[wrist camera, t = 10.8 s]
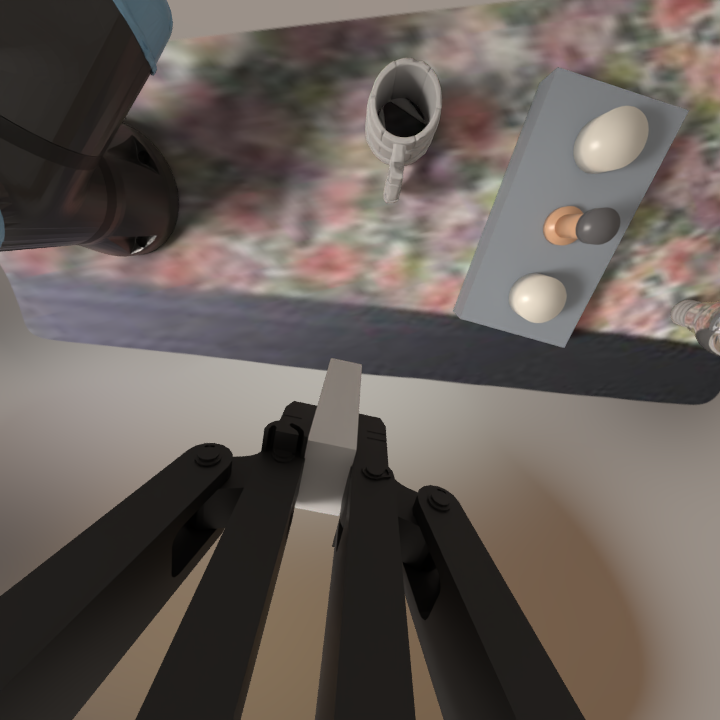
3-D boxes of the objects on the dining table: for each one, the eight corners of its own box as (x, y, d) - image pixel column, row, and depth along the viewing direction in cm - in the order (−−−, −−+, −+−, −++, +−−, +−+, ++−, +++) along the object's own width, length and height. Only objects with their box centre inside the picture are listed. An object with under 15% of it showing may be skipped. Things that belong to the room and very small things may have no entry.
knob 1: (491, 303, 46) (510, 316, 39) (507, 264, 44) (530, 271, 37) (527, 313, 46) (553, 328, 39) (545, 275, 44) (575, 284, 38)
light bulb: (657, 344, 47) (744, 382, 36) (640, 302, 45) (728, 328, 34) (711, 317, 45) (821, 347, 34) (697, 272, 43) (808, 289, 32)
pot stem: (536, 239, 39) (571, 242, 32) (553, 202, 38) (592, 197, 31) (569, 249, 39) (610, 254, 32) (587, 212, 38) (633, 209, 31)
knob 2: (546, 171, 40) (580, 161, 33) (568, 119, 38) (608, 98, 31) (588, 184, 40) (629, 176, 34) (611, 133, 38) (660, 115, 32)
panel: (452, 310, 47) (459, 318, 43) (539, 82, 37) (557, 67, 33) (549, 338, 47) (564, 347, 44) (658, 121, 38) (689, 110, 34)
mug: (439, 93, 38) (465, 38, 27) (419, 210, 42) (435, 205, 31) (370, 85, 38) (367, 26, 27) (357, 202, 42) (351, 194, 31)
